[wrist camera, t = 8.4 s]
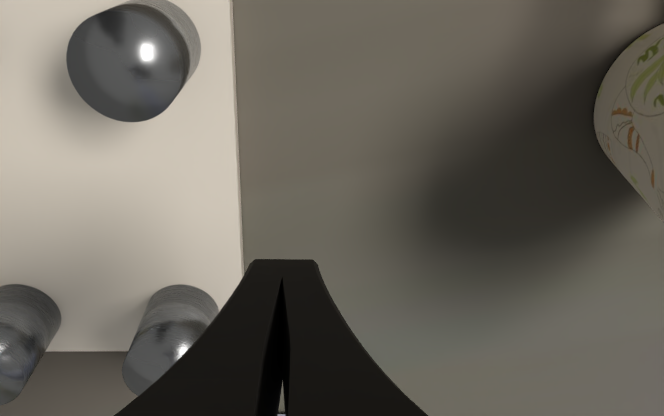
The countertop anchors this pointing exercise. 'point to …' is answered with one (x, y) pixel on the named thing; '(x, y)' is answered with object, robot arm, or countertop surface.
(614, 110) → the mug
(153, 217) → the plate
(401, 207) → the countertop surface
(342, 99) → the countertop surface
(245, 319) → the robot arm
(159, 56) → the spacers
